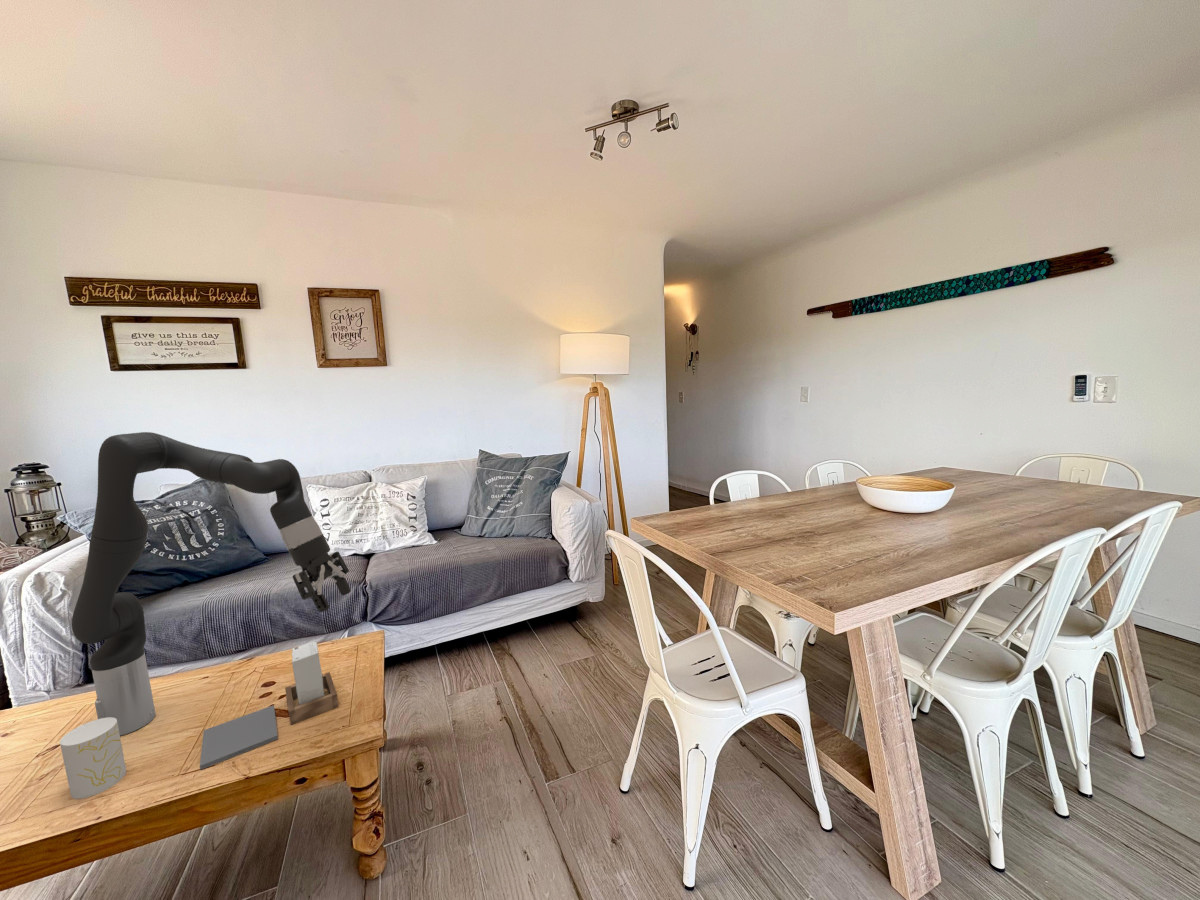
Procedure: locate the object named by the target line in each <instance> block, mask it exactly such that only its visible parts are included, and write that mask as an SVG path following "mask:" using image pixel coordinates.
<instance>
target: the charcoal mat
mask: <svg viewBox="0 0 1200 900" xmlns="http://www.w3.org/2000/svg"><path fill="white" fill-rule="evenodd" d="M275 710H276V709H275V704H274V705H273V704H272V705H270V706H268V707H265V708H262V709H259V710H255V711H254V712H250V713H247V714H245V715H242V716H239V717H236V718H233V719H231V720H228V721H226V722H223V723H220V724H216V725H215V726H214V725H213V726H212V727H209V728H206V729H203V733H202V742H201V743H202V744H201V749H200V750H201V752H200V761H199V770H200V771H202V770H205V769H206V768H209V767H212V766H214V765H216V764H219V763H222V762H224V761H228V760H229V759H232V758H234V757H236V756H239V755H242V754H244V753H246V752H249V751H250V752H251V751H252V750H254V749H257V748H260V747H262V746H265V745H266V744H267V745H268V744H271V743H272V742H275V741H277V740H279V738H278V735H279V734H278V728H277V720H276V719H277V718H276V711H275ZM201 769H202V770H201Z"/></svg>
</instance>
